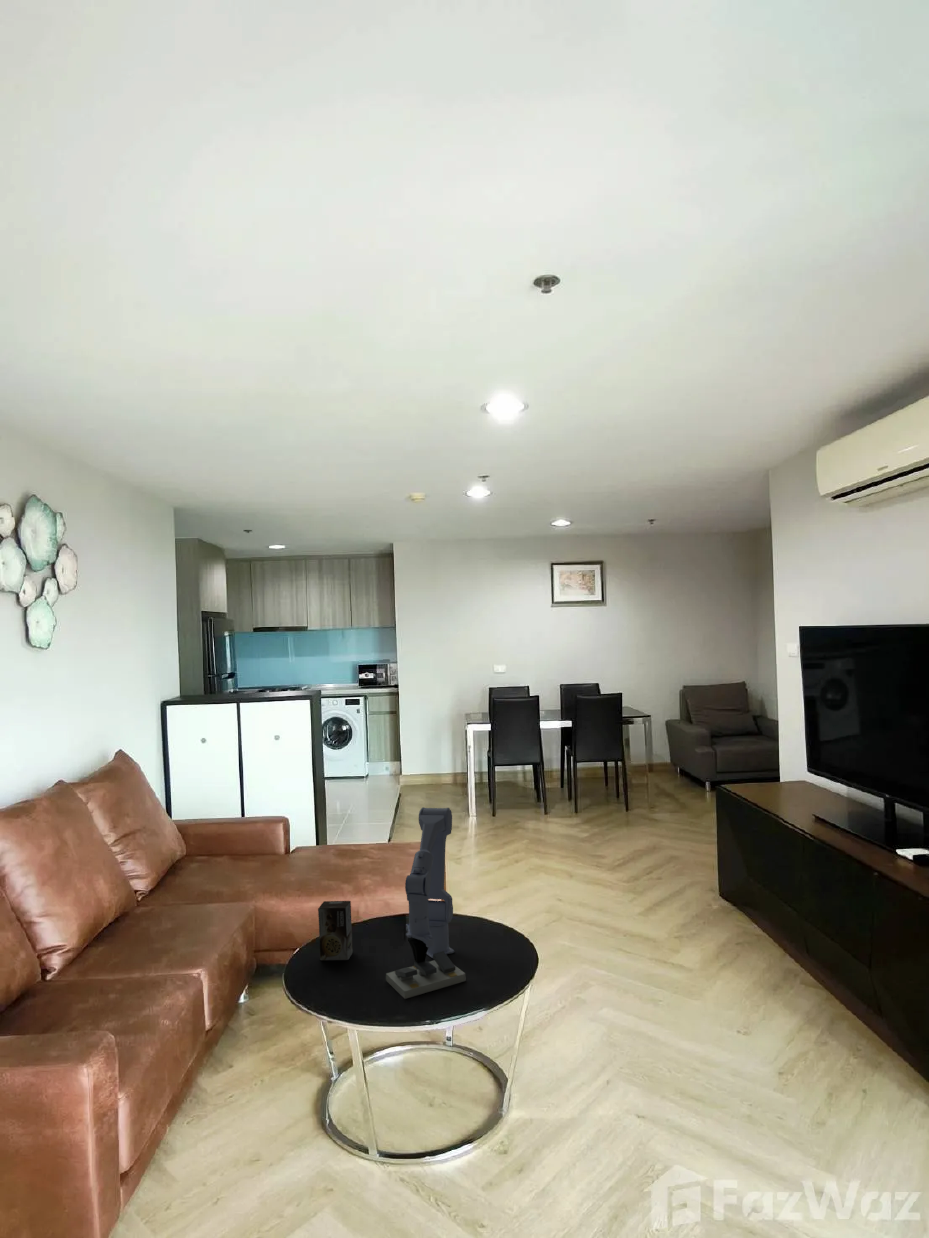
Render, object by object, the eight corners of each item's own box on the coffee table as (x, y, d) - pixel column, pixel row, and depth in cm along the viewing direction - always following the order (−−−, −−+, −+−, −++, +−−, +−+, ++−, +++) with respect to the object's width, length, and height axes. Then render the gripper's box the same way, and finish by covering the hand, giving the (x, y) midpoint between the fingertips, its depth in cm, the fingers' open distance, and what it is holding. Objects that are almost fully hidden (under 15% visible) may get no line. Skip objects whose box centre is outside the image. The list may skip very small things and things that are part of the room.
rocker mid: (414, 966, 205) (414, 961, 205) (425, 963, 207) (424, 958, 207) (425, 975, 198) (425, 971, 198) (436, 972, 200) (436, 968, 200)
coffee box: (353, 951, 224) (351, 900, 225) (347, 960, 218) (346, 907, 219) (325, 951, 225) (323, 900, 226) (319, 960, 219) (317, 907, 220)
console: (386, 980, 203) (385, 970, 204) (444, 964, 213) (444, 954, 213) (404, 998, 192) (404, 987, 192) (465, 980, 201) (465, 970, 201)
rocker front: (395, 974, 202) (395, 970, 202) (406, 971, 203) (406, 967, 204) (405, 977, 196) (405, 972, 196) (417, 974, 197) (416, 969, 198)
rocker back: (432, 957, 208) (433, 953, 208) (443, 954, 210) (443, 951, 209) (444, 973, 201) (444, 969, 201) (455, 970, 203) (455, 966, 203)
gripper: (396, 911, 210) (397, 957, 210) (417, 927, 198) (418, 976, 197) (417, 906, 214) (419, 951, 213) (439, 921, 201) (441, 970, 200)
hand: (420, 963), depth 205 cm, fingers closed, pressing on rocker mid
